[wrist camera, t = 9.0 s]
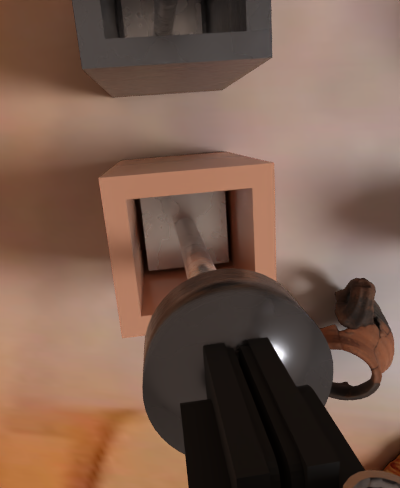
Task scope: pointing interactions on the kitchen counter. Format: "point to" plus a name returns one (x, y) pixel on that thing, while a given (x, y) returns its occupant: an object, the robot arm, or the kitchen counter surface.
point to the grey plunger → (214, 311)
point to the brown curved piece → (360, 336)
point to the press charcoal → (173, 48)
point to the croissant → (394, 467)
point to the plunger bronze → (161, 17)
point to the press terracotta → (177, 183)
